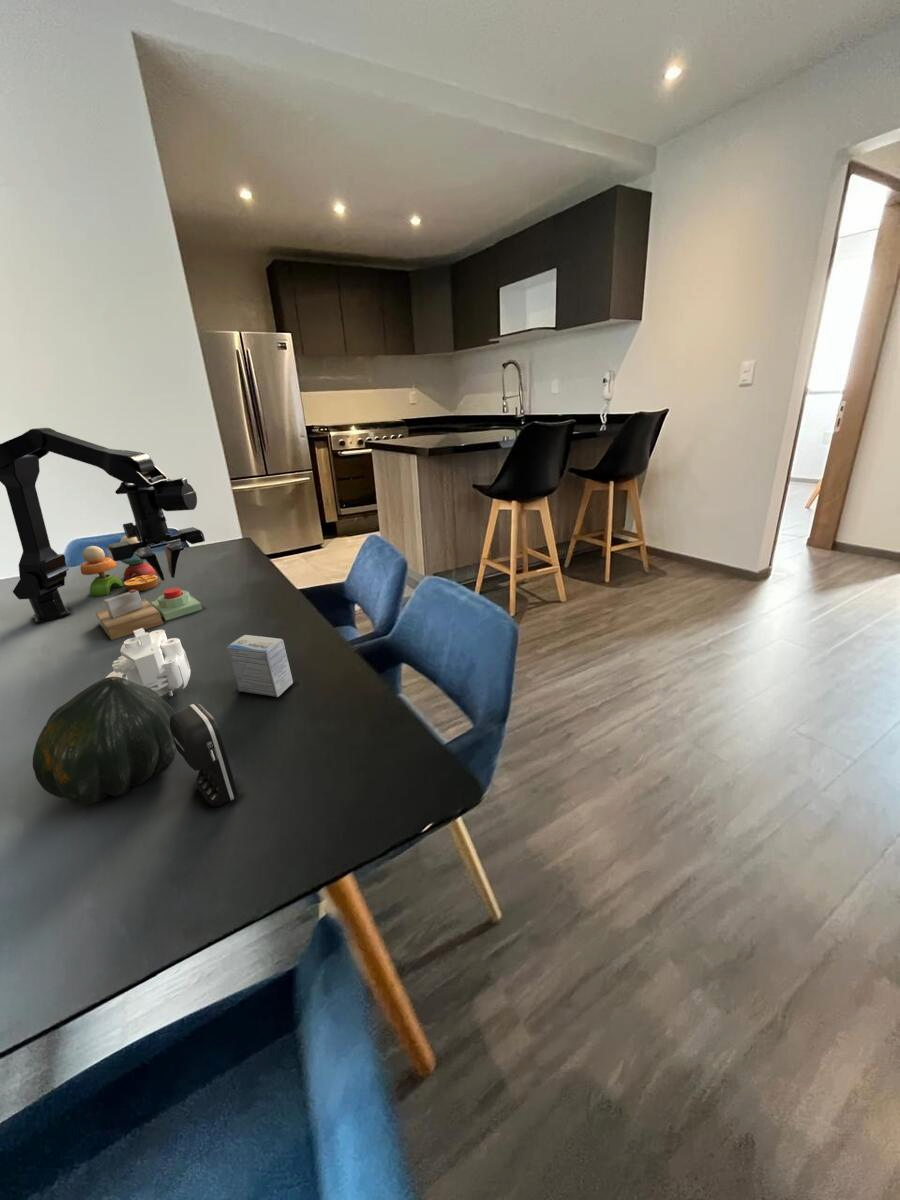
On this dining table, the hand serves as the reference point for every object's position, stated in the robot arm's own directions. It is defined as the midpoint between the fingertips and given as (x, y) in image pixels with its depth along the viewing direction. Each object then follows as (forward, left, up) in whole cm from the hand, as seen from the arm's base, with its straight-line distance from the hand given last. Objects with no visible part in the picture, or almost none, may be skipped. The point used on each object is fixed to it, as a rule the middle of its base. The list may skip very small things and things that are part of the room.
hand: (167, 578), depth 114 cm
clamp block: (+1, -10, -8) cm, 13 cm away
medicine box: (+51, -1, -8) cm, 52 cm away
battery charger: (+69, -16, -8) cm, 71 cm away
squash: (+57, -23, -8) cm, 62 cm away
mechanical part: (+40, -15, -8) cm, 43 cm away
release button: (0, 0, -5) cm, 5 cm away
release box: (0, 0, -8) cm, 8 cm away
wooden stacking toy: (-31, -2, -8) cm, 32 cm away
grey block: (+1, -10, -5) cm, 11 cm away
